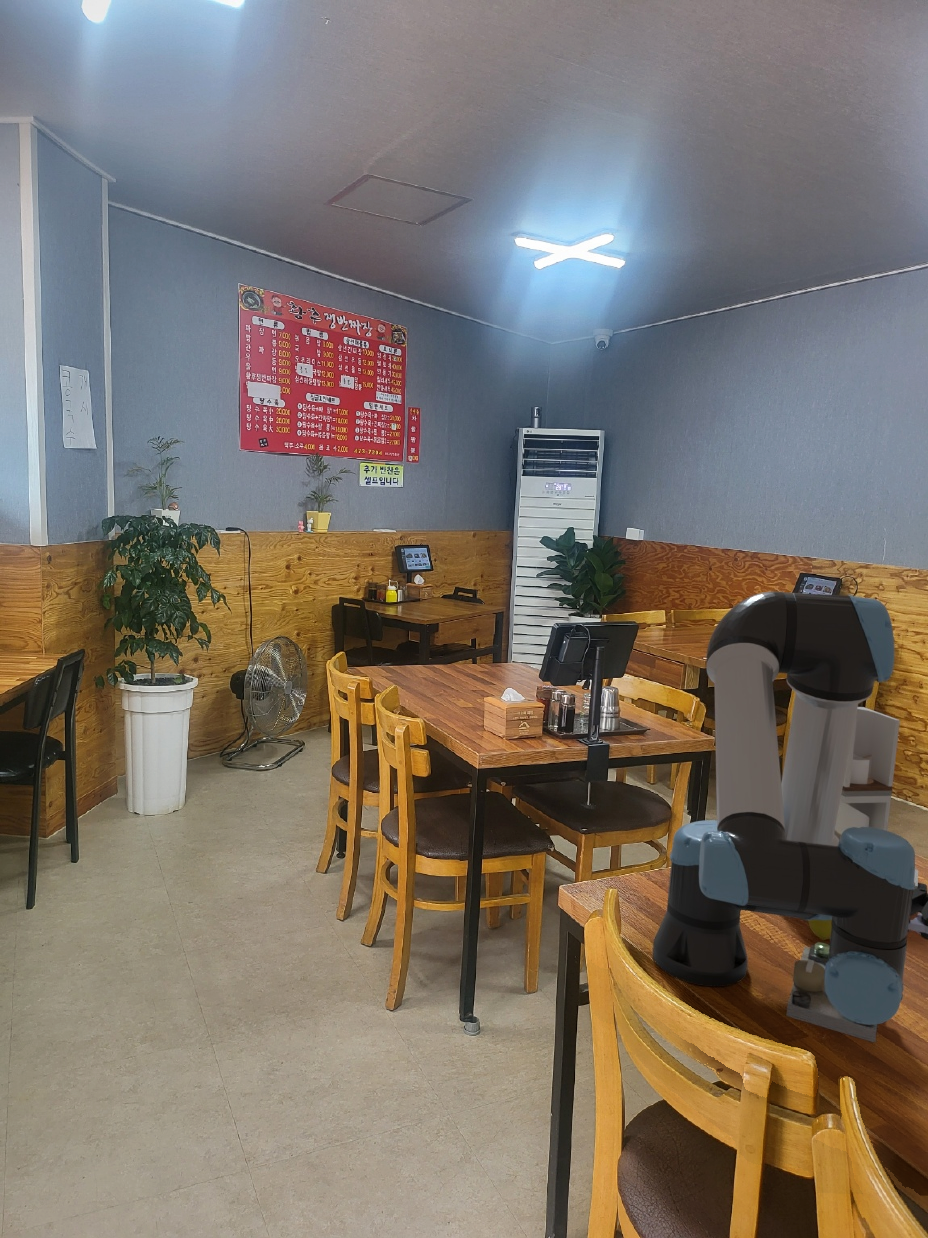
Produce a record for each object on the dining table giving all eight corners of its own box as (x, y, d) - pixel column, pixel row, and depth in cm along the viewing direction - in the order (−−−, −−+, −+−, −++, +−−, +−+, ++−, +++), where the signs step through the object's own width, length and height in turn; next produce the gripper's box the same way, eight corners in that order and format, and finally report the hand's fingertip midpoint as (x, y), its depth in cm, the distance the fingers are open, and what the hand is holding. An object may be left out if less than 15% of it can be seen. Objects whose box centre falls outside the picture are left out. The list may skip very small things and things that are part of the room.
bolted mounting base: (875, 1043, 121) (878, 1018, 120) (786, 1016, 126) (788, 992, 126) (881, 978, 138) (884, 957, 138) (803, 957, 144) (805, 936, 143)
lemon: (841, 938, 151) (846, 896, 150) (837, 951, 146) (842, 907, 145) (808, 929, 154) (813, 887, 153) (803, 942, 149) (808, 899, 148)
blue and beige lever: (791, 986, 130) (798, 913, 129) (794, 973, 134) (802, 902, 133) (886, 1013, 124) (894, 937, 123) (887, 999, 128) (895, 925, 126)
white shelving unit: (803, 864, 184) (818, 706, 180) (846, 862, 186) (863, 707, 182) (834, 887, 173) (852, 720, 168) (881, 885, 175) (899, 720, 170)
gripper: (774, 940, 107) (798, 877, 127) (967, 991, 97) (960, 914, 117) (780, 884, 106) (803, 829, 126) (974, 930, 96) (966, 862, 116)
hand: (878, 870), depth 122 cm, fingers open, 8 cm apart
